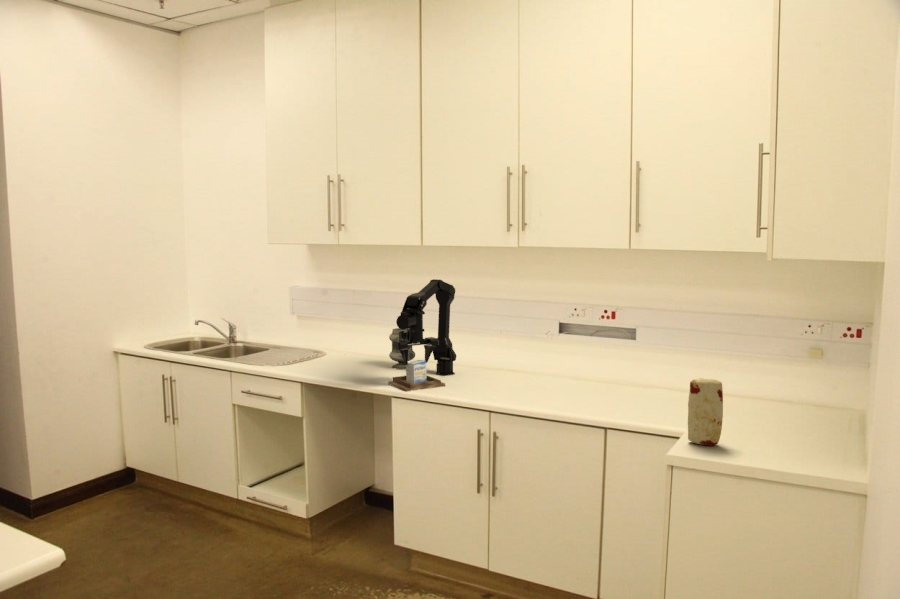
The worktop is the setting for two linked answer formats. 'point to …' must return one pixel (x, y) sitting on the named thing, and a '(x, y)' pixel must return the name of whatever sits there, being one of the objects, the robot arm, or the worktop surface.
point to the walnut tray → (406, 386)
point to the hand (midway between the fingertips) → (416, 363)
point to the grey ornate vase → (396, 354)
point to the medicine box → (416, 372)
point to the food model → (705, 411)
